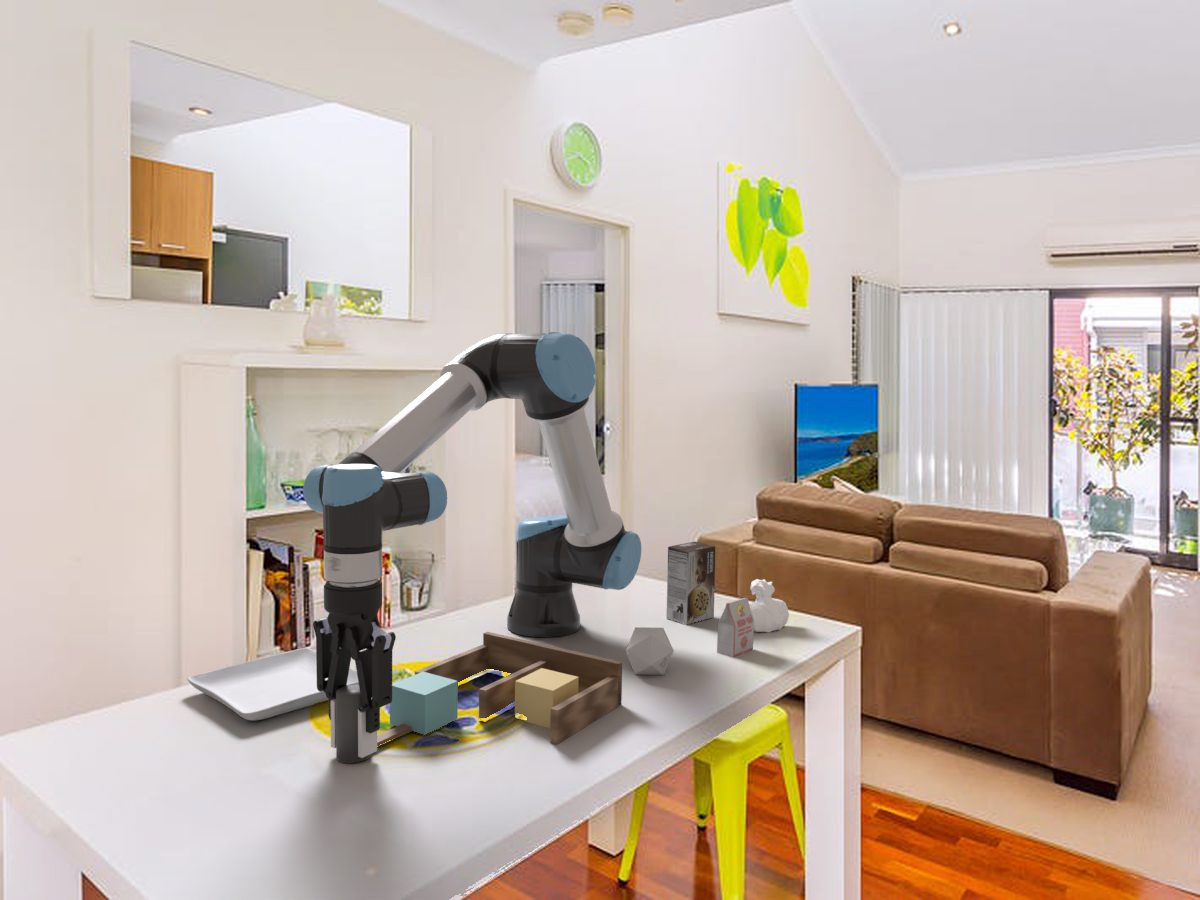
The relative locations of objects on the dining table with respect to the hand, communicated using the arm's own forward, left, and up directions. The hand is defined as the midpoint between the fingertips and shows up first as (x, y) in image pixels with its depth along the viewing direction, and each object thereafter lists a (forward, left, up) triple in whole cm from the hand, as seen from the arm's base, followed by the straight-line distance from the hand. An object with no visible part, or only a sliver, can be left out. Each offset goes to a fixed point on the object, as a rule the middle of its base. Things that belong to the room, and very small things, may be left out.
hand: (354, 748), depth 116 cm
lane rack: (-28, +7, -1) cm, 29 cm away
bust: (-91, +24, -2) cm, 94 cm away
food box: (-88, +8, -1) cm, 88 cm away
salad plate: (-9, -27, -2) cm, 29 cm away
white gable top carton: (-73, +25, -2) cm, 77 cm away
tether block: (-7, 0, -1) cm, 7 cm away
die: (-53, +17, -1) cm, 56 cm away
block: (-26, +13, -1) cm, 30 cm away
